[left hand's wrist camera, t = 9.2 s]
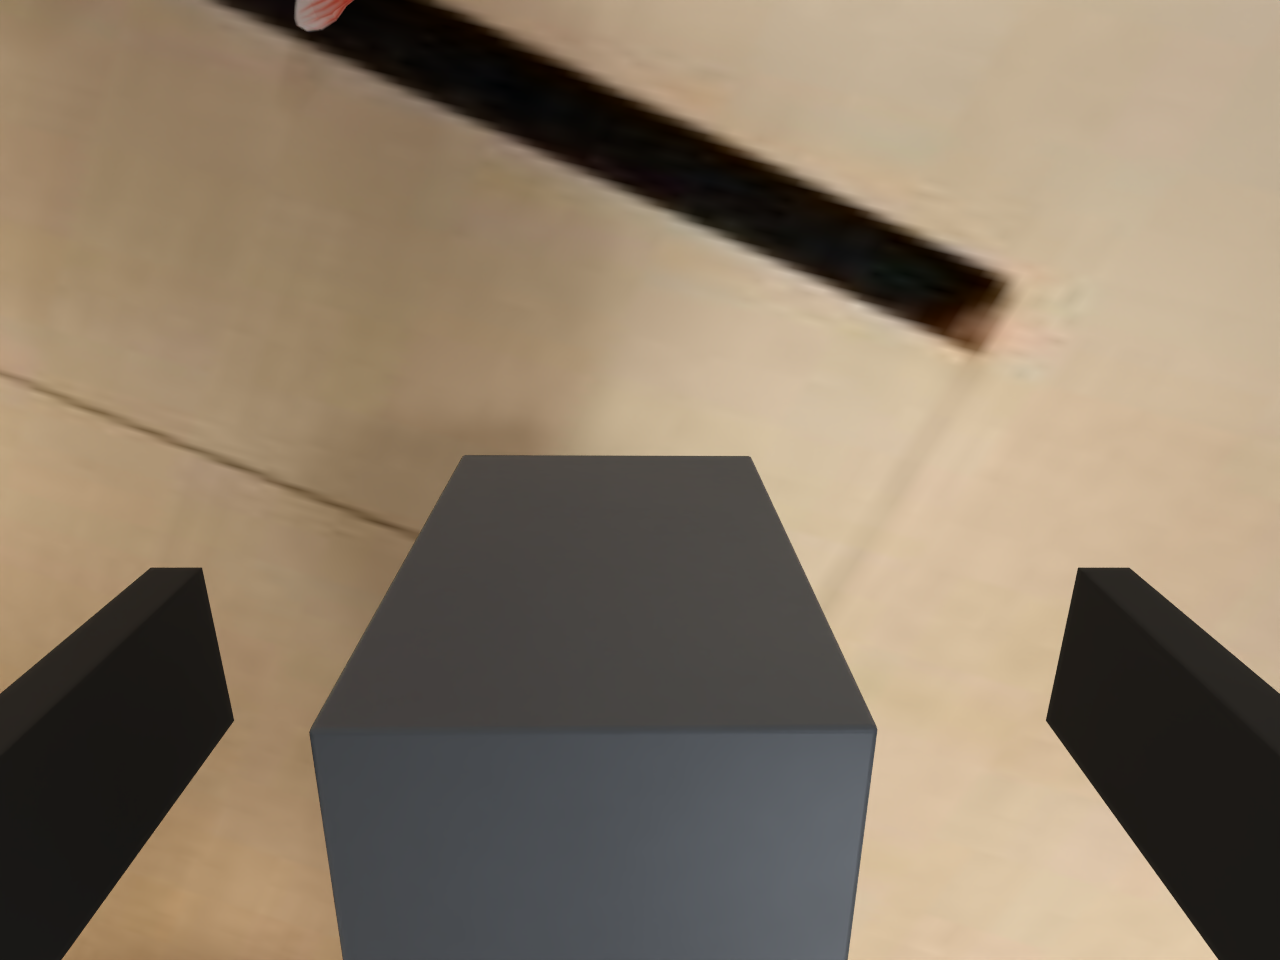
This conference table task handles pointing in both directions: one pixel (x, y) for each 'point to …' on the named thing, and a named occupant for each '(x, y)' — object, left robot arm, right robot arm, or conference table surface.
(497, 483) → the bar
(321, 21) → the fish
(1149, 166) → the conference table surface
